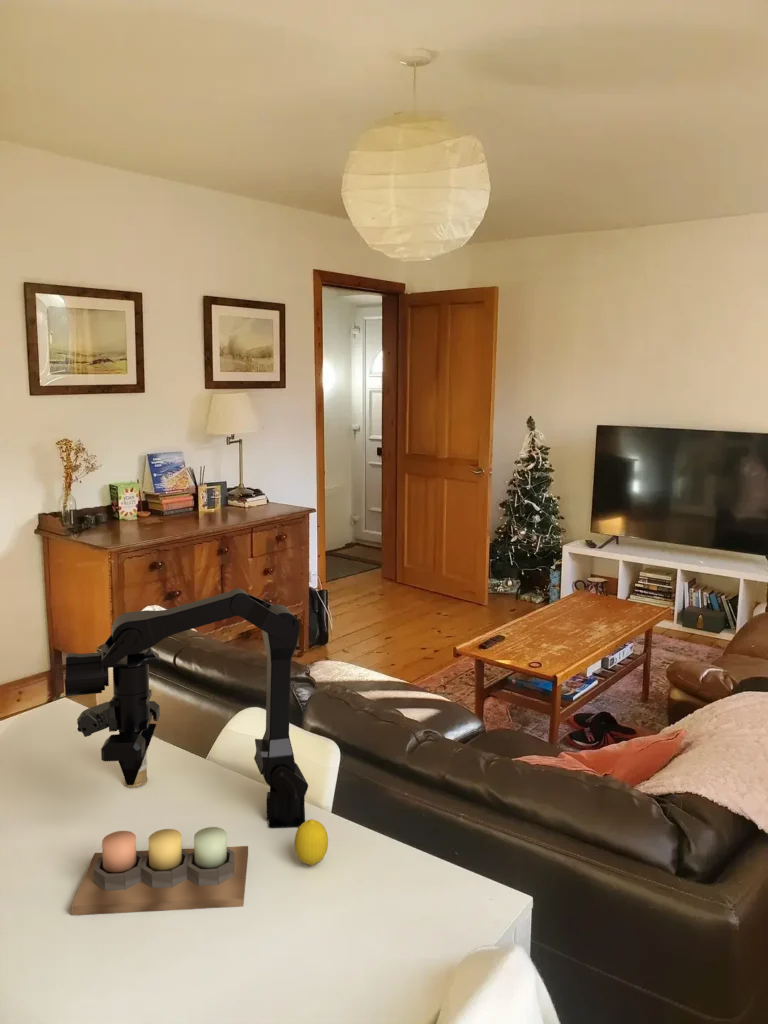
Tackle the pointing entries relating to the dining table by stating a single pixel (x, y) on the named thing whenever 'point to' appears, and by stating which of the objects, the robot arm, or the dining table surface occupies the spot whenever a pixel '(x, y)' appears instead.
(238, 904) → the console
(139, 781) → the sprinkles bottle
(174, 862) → the button ochre
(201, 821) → the dining table surface
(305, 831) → the lemon
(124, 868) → the button terracotta
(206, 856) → the button sage
